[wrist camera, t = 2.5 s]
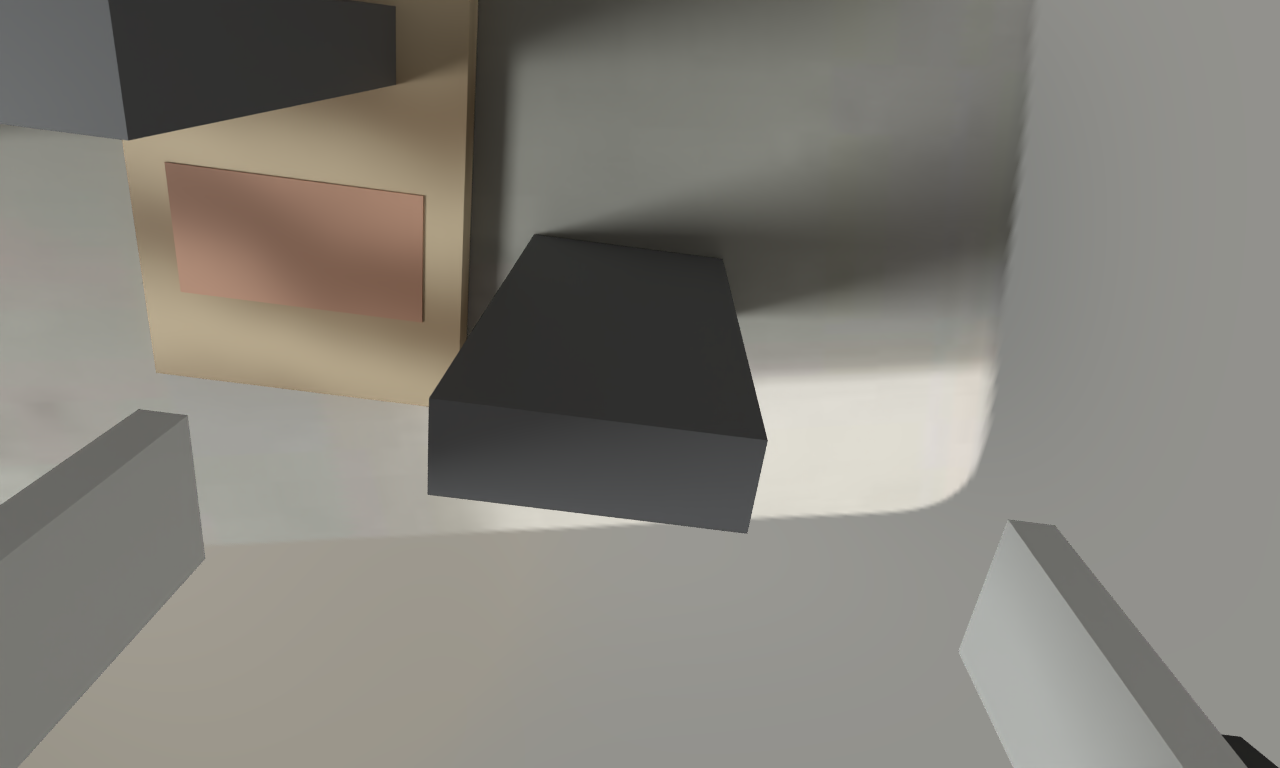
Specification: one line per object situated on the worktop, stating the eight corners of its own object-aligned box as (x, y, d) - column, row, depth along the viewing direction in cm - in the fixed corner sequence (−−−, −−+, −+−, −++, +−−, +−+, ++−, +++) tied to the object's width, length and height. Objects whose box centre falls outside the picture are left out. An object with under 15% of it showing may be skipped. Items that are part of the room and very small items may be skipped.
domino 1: (171, -25, 21) (-368, -83, 10) (395, 6, 21) (105, -18, 10) (180, 55, 22) (-309, 83, 11) (396, 84, 22) (128, 140, 11)
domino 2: (533, 234, 25) (429, 398, 14) (722, 259, 25) (767, 440, 14) (529, 294, 25) (427, 494, 14) (712, 318, 26) (746, 533, 15)
